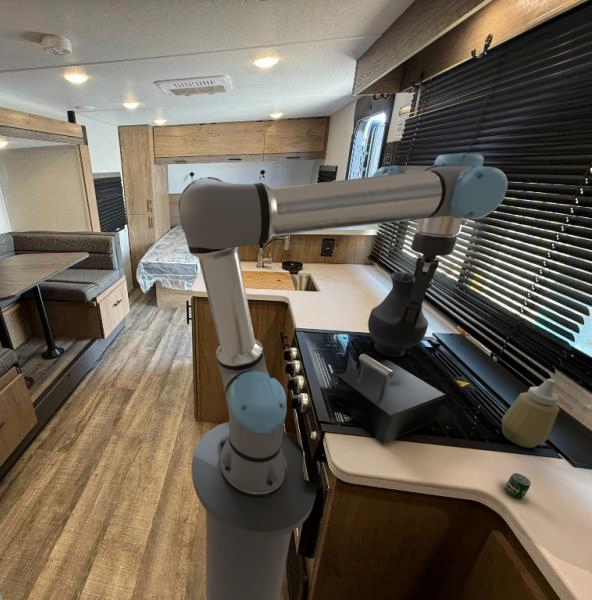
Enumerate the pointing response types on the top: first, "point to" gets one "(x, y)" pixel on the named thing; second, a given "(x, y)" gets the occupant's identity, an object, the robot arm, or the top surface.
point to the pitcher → (395, 319)
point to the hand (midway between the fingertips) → (408, 321)
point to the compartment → (378, 421)
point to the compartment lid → (389, 386)
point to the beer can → (517, 486)
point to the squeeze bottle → (531, 416)
